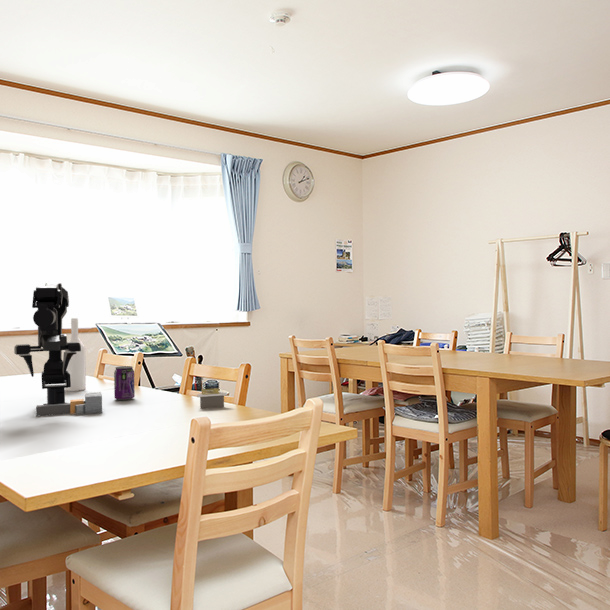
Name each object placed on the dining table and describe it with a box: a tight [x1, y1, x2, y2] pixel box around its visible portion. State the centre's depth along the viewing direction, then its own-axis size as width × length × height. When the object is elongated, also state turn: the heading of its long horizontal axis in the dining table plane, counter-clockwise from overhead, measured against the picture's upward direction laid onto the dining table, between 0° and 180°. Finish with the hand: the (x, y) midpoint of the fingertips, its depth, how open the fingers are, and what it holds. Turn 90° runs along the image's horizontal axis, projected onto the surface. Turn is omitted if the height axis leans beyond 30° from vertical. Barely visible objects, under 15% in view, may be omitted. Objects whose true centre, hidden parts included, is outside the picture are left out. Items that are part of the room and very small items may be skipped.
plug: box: [35, 398, 85, 417], centre depth 187 cm, size 14×4×4 cm, turn 111°
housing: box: [75, 391, 103, 416], centre depth 190 cm, size 8×10×6 cm
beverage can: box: [113, 365, 136, 402], centre depth 215 cm, size 7×7×12 cm
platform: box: [196, 388, 228, 410], centre depth 194 cm, size 12×18×7 cm, turn 110°
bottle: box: [64, 317, 87, 392], centre depth 243 cm, size 8×8×30 cm
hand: (48, 375), depth 184 cm, fingers open, 9 cm apart
